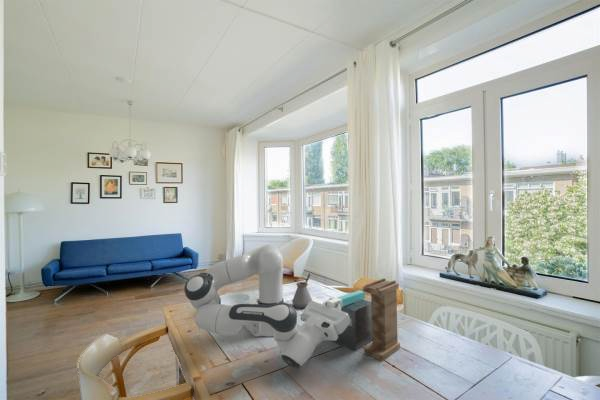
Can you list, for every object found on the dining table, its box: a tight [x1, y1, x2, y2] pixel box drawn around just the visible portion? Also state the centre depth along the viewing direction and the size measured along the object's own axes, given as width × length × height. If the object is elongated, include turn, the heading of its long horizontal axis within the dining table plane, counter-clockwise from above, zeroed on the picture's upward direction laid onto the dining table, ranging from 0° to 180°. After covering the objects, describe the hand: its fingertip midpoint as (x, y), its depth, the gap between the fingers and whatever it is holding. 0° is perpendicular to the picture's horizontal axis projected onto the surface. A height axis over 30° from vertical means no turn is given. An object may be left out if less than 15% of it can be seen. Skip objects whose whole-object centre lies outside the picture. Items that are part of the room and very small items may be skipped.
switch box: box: [334, 299, 372, 352], centre depth 120 cm, size 14×13×16 cm
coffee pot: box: [291, 273, 313, 309], centre depth 165 cm, size 21×12×15 cm, turn 160°
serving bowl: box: [219, 292, 252, 306], centre depth 155 cm, size 21×21×7 cm
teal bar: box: [326, 289, 366, 309], centre depth 118 cm, size 3×22×3 cm, turn 132°
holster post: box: [362, 277, 401, 362], centre depth 111 cm, size 8×13×27 cm, turn 132°
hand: (336, 300), depth 114 cm, fingers open, 3 cm apart
